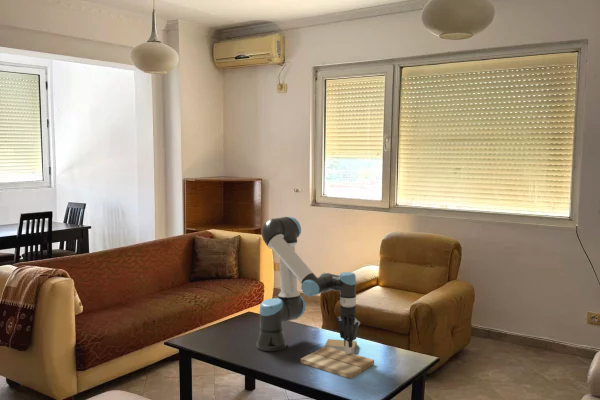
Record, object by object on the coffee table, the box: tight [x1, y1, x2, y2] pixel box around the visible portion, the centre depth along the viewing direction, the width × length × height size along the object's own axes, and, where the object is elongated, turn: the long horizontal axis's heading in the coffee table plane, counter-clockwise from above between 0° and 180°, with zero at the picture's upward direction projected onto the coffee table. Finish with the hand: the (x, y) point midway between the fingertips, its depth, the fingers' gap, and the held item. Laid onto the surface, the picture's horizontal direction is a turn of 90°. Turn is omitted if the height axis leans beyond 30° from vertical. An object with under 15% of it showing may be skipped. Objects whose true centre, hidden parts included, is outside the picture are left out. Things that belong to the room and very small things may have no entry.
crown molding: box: [324, 338, 358, 354], centre depth 265 cm, size 14×15×4 cm
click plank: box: [312, 345, 375, 373], centre depth 249 cm, size 28×10×2 cm, turn 51°
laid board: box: [300, 352, 363, 380], centre depth 241 cm, size 28×9×2 cm, turn 51°
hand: (348, 353), depth 252 cm, fingers closed
